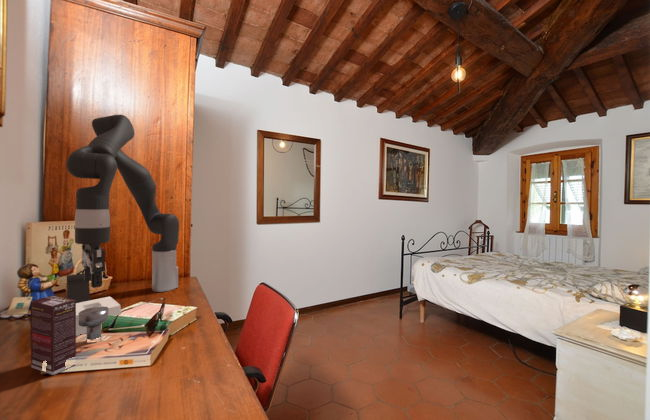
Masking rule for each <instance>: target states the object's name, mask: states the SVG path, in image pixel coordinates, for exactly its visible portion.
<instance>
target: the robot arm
mask: <svg viewBox="0 0 650 420" xmlns="http://www.w3.org/2000/svg"><path fill="white" fill-rule="evenodd" d="M91 126H92V130H93V132H94V134H95V135H96V137H94V138H93V139H92V140H91V141H90V142H89V143H88V145H86V146H83V147H80V148H78V149H75V150H74V151H73V152H71V153H70V154H69V156H68V157H67V159H66V163H65V166H66V169H67V172H68V173H69V174H70V175H72V176H73V177H75V178H77V179H89V180H90V179H91V180H92V179H93V180H94V179H95V180H99V181H98V182H97V184H95V185H93V186H86V187H80V188H78V189H77V190H76V192H75V214H74V215H75V216H74V243H75V244H76V245H81V262H80V263H81V265H82V267H83V268H84V269H83V271H84V272H83V273H84V280H85V281H89V282H90V286H91V288H93V289H95V288H99V287H102V285H103V273H104V272H105V271H106V249H105V248H102V246H101V244H103V243H104V244H107V243H109V242H110V241H111V215H110V194H111V193H110V192H111V188H112V184H113V181H114V180H115V176H116V174H117V171H118V172H119V173H120V174H119V175H120V176H121V177H122V179H123V181H124V183H125V185H126V187H127V189H128V191H130V193H131V195H132V197H133V199H134V200H135V202H136V204H137V206H138V208H139V209H140V212H141V214H142V217H143V220H144V221H145V224H146V227H147V228H148V230H149V232H151V233H153V234H155V235H160V239H159V241H158V242H155V243H153V244H152V246H151V247H152V248H151V249H152V250H151V255H152V258H151V260H152V261H151V263H152V265H151V267H152V270H151V274H152V275H151V278H152V279H151V280H152V281H151V282H152V283H151V284H152V285H151V288H152V292H155V293H156V292H157V293H159V292H160V293H161V292H168V291H173V290H175V289H176V288H179V266H177V246H178V243H179V237H180V236H179V235H180V233H179V232H180V221H179V218H178V217H177V215H176V214H174V213H162V212H161V211H160V210H159V208H158V205H157V204H156V195H157V185H156V182H155V180H154V178H153V177H152V175H151V172H150V171H149V170H148V168H146V167H145V166H144V165H143V164H141V163H139V162H137V160H135V159H133V158H131V157H130V156H129V155H127V154H126V153H125V152H124V151H123V150H122V148H123V147H124V146H125V145H127V143H129V142H130V141H131V140H133V139H134V137H135V129H134V125H133V123H132V122H131V120H130V119H129V118H128V117H127V116H126V115H123V114H113V115H107V116H101V117H97V118H94V119H93V120H91Z"/></svg>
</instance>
